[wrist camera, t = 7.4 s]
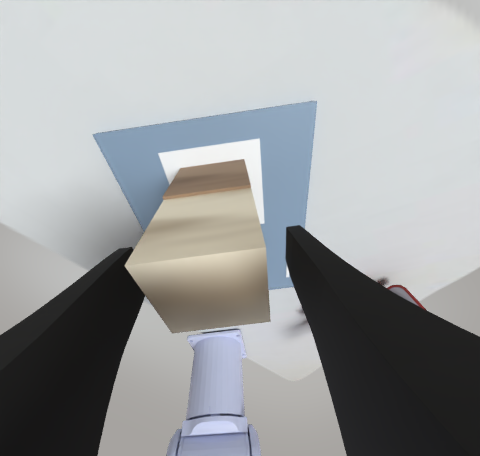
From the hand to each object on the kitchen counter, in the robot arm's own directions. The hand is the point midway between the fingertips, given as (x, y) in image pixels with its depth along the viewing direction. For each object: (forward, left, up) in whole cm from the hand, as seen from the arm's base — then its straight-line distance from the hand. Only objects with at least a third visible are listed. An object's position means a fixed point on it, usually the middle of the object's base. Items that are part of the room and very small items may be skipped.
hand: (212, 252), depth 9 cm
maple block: (0, 0, -2) cm, 2 cm away
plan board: (-4, 0, -7) cm, 8 cm away
